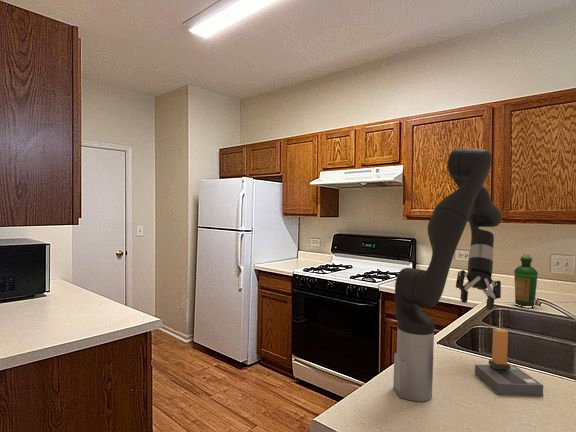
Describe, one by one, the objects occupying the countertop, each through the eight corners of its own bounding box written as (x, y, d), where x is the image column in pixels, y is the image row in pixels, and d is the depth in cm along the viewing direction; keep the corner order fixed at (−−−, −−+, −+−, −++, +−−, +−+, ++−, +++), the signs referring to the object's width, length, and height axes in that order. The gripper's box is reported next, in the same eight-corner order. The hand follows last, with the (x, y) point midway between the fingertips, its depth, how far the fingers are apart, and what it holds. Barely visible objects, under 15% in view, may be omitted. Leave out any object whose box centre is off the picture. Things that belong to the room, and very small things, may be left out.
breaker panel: (498, 394, 97) (498, 383, 97) (474, 373, 110) (475, 364, 110) (543, 396, 97) (543, 384, 97) (514, 375, 110) (514, 365, 110)
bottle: (509, 303, 201) (511, 252, 200) (531, 304, 199) (532, 253, 198) (517, 308, 190) (519, 255, 190) (540, 309, 188) (542, 256, 188)
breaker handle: (495, 368, 106) (496, 332, 106) (488, 363, 109) (489, 328, 109) (510, 369, 106) (511, 332, 106) (503, 364, 109) (504, 328, 109)
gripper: (466, 251, 122) (462, 298, 116) (507, 263, 122) (504, 311, 116) (455, 256, 129) (450, 301, 123) (493, 268, 129) (490, 313, 123)
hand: (476, 306), depth 120 cm, fingers open, 8 cm apart
